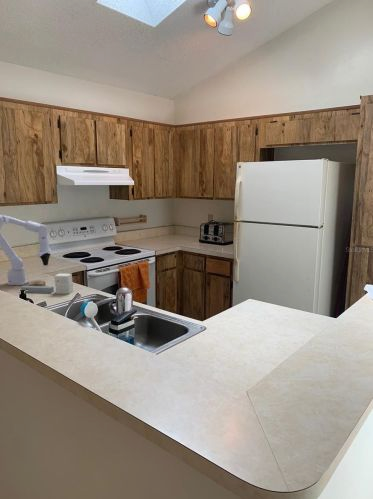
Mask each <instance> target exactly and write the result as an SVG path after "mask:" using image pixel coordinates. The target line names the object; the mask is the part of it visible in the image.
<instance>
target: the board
mask: <svg viewBox="0 0 373 499" xmlns="http://www.w3.org/2000/svg"><path fill="white" fill-rule="evenodd" d="M26 289H28V291H25V292H24V293H31V294H32V293H35V294H36V293H37V294H39V293H40V294H52V293H53V292H55V290H54V285H53V286H51V285H49V286H48V285H46V286H28V285H21V287H20V291H21V290H26Z"/></svg>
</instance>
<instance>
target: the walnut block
mask: <svg viewBox="0 0 373 499" xmlns="http://www.w3.org/2000/svg"><path fill="white" fill-rule="evenodd" d="M27 286H47V285H46V280H45V281H39V280H38V281H30V282H29V283H28V284H27Z"/></svg>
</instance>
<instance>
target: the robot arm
mask: <svg viewBox="0 0 373 499" xmlns="http://www.w3.org/2000/svg"><path fill="white" fill-rule="evenodd" d="M3 224H4V225H8V224H13V225H16V226H20V227H24V228H25V230H27V231H30V232H33V233H38V246H39V251H38V252H37V257H39V258H40V259H41V261H42V265H43V266H48V264H49V259H50V257H51V254H52V252H53V251H52V248H50V240H49V229H48V227H47V225H45V224H44V223H40V222H39V223H38V222H35V221H34V220H32V219H31V220H27V221H24V220H21V219H18V218H15V217H12V216H9V215H5V214H1V213H0V230H1V229H2V226H3ZM0 248H1V250H2V251H3V252H4V254H5V255H6V257H7V258H8V260H9V262H10V264H11V268H10V269H8V271H7V285H8V286H9V285H10V286H24V285H25V284H27V283H28V282H29V280H26V272H25V267H24V260H23V259H22V258H21V257H19V256H18V254H17V253H16V252H15V251H14V249H13V248H12V247H11V245H10V244H9V242H8V241H7V239H6V238H5V237H4V235H3V234H2V232H1V231H0ZM29 283H30V282H29Z"/></svg>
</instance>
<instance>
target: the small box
mask: <svg viewBox="0 0 373 499" xmlns="http://www.w3.org/2000/svg"><path fill="white" fill-rule="evenodd" d="M54 286H55V294H56V295H57V294H58V295H59V294H60V295H63V294H64V295H66V294H67V295H68V294H69V295H70V294H71V293H72V292H73V291H74V287H73V286H74V285H73V275H72V273H57V274H56V275H54Z"/></svg>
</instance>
